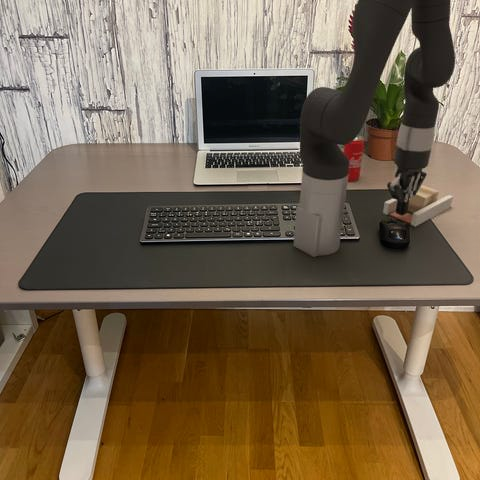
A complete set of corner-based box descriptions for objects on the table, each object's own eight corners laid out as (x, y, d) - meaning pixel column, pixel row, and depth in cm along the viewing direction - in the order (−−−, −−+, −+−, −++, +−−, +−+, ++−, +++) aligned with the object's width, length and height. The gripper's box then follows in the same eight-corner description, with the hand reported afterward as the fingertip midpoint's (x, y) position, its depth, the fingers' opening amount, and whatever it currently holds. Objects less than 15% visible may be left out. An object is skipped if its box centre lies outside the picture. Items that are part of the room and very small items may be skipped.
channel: (415, 226, 115) (417, 215, 114) (382, 213, 121) (384, 202, 120) (450, 207, 124) (453, 196, 123) (418, 195, 130) (421, 185, 129)
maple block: (421, 216, 120) (425, 198, 117) (403, 209, 123) (407, 191, 121) (434, 209, 123) (438, 191, 121) (417, 202, 127) (420, 185, 124)
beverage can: (358, 175, 142) (363, 134, 136) (360, 182, 137) (365, 141, 131) (339, 174, 142) (344, 134, 136) (341, 181, 138) (346, 140, 132)
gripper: (415, 133, 115) (403, 200, 124) (382, 146, 108) (371, 216, 116) (445, 142, 110) (429, 211, 119) (412, 155, 103) (398, 228, 111)
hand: (400, 213), depth 118 cm, fingers closed
